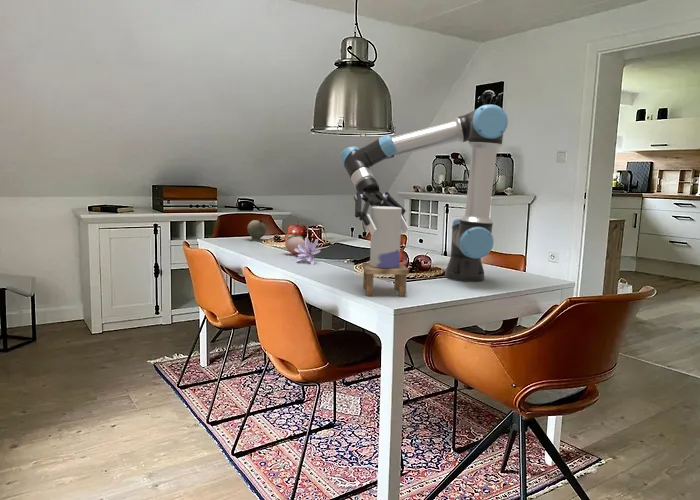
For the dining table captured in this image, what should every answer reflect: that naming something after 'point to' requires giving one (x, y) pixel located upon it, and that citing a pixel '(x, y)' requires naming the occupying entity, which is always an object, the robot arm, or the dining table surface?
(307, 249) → the water lily
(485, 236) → the robot arm
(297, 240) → the decorative fruit
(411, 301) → the dining table surface
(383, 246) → the container
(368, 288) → the stool
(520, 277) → the dining table surface
